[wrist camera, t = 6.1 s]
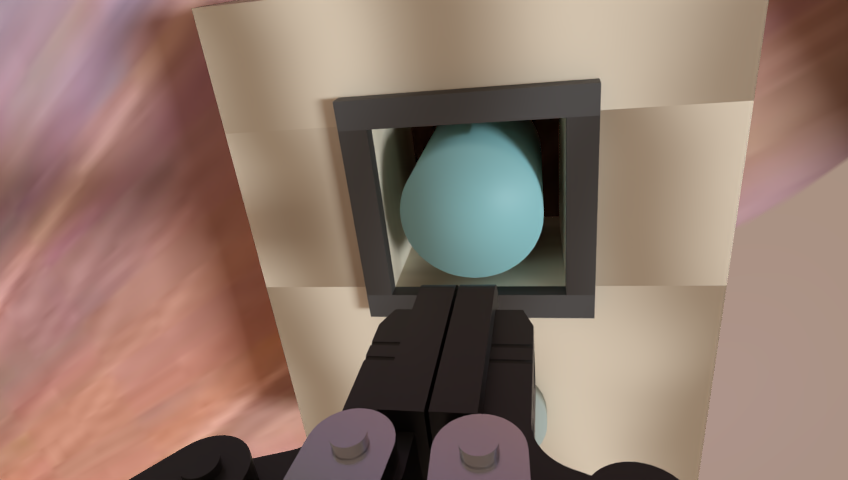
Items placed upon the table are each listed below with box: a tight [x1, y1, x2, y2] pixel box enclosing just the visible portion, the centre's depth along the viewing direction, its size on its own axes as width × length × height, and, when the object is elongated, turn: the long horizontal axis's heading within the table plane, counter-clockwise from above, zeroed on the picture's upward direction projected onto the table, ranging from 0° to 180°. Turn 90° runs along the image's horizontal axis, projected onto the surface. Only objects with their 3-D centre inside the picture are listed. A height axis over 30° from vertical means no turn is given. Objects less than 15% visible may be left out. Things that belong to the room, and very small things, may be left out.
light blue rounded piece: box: [400, 120, 544, 278], centre depth 18 cm, size 4×4×6 cm
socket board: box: [192, 0, 769, 480], centre depth 19 cm, size 14×18×6 cm
